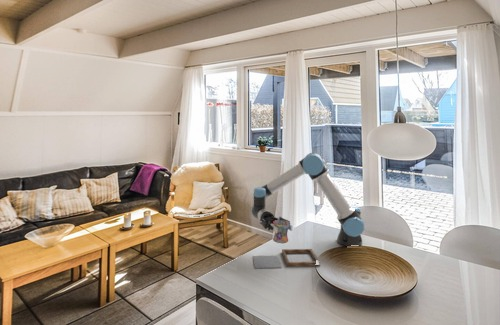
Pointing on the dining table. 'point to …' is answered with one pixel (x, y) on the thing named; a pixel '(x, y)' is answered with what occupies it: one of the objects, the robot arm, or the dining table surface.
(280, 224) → the mug
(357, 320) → the dining table surface
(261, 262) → the mat
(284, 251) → the frame
